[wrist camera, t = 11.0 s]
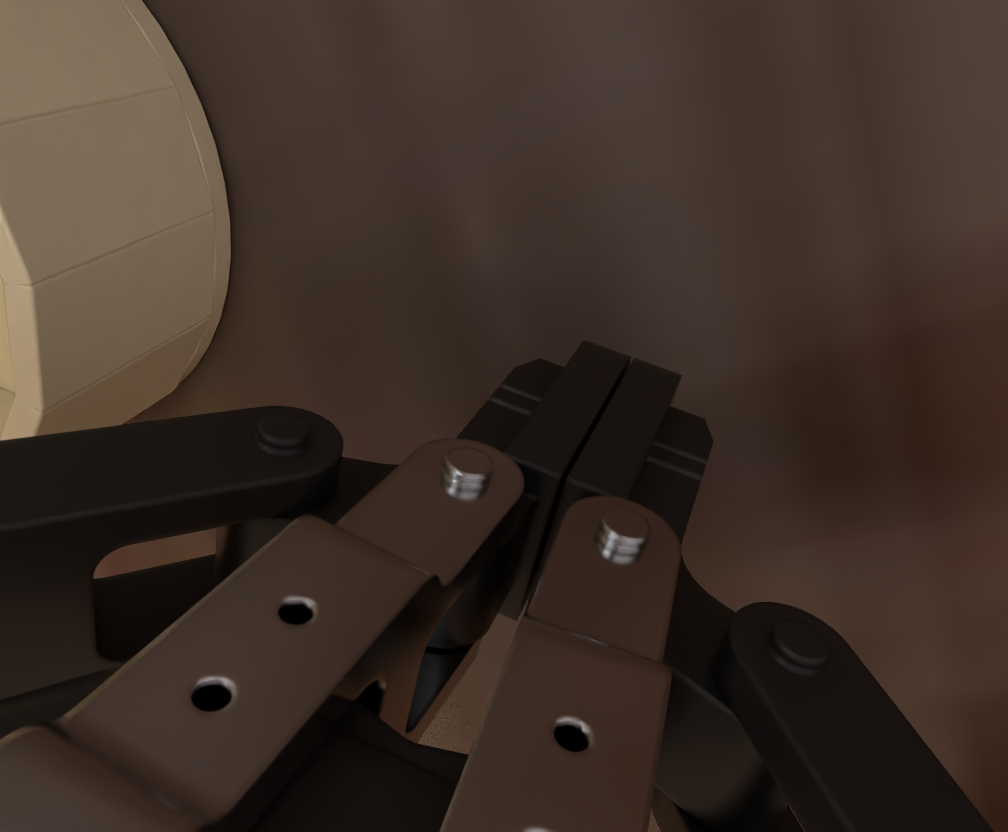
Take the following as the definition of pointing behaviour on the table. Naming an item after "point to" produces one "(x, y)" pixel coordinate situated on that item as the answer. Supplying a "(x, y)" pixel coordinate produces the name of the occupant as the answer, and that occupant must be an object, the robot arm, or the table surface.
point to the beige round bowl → (101, 217)
